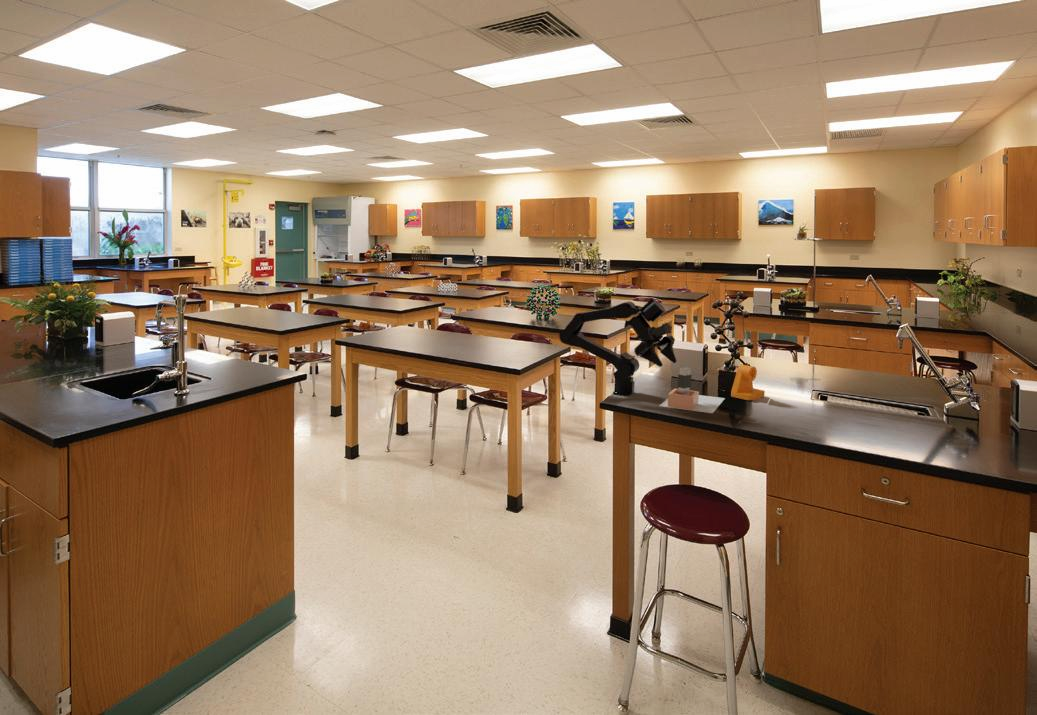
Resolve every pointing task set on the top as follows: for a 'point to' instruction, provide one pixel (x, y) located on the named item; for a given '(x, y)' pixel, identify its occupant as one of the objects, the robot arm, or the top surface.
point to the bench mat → (702, 404)
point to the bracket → (746, 384)
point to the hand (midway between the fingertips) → (668, 364)
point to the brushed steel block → (684, 381)
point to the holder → (683, 399)
